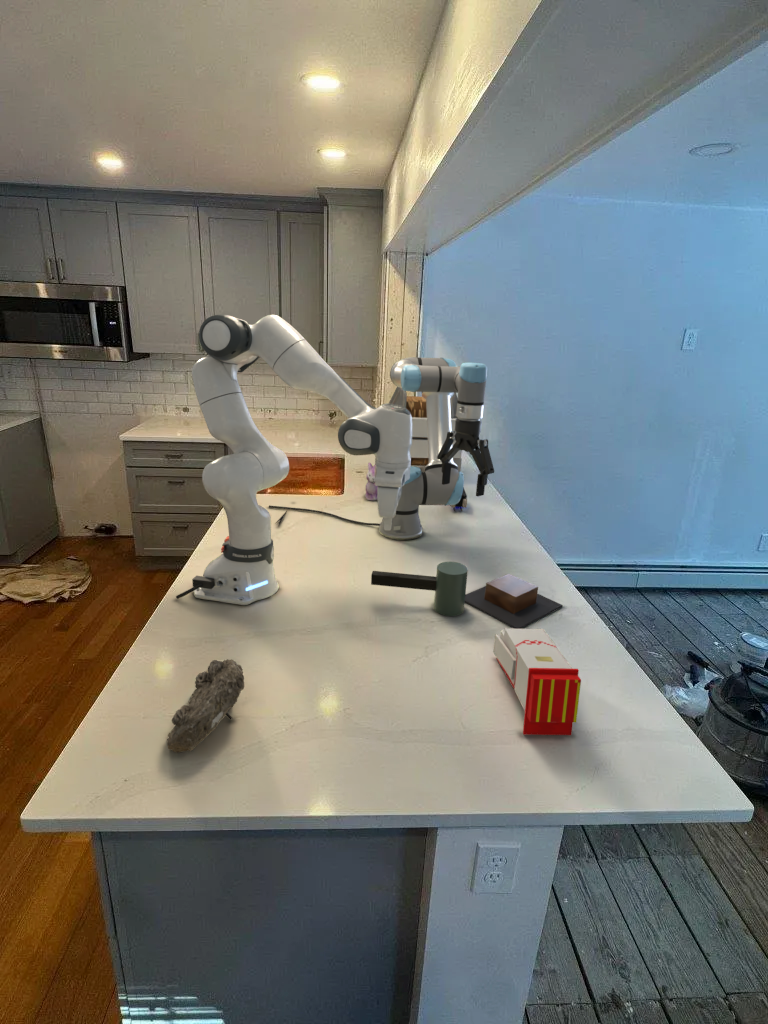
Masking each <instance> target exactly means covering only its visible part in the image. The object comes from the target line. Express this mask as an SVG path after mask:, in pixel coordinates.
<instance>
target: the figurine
mask: <svg viewBox="0 0 768 1024" xmlns="http://www.w3.org/2000/svg"><path fill="white" fill-rule="evenodd" d="M367 468H368V469H367V473H366V475H365V478H366V480H367V482H366V484H365V494H364V498H365V499H366V500H367V501H378V496H377V488H378V486H376V485H375V464H374V465H372V463H371V462H368V463H367Z"/></svg>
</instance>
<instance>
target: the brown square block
mask: <svg viewBox="0 0 768 1024" xmlns="http://www.w3.org/2000/svg"><path fill="white" fill-rule="evenodd" d="M485 586H486V589H485V597H484V599H485V600H487V601H489V602H491V603H493V604H495V605H497V606H499V607H501V608H503V609H505V610H507V611H509V612H511V613H513V614H515V613H517V612H519V611H521V610H523V609H525V608H527V607H529V606H531V605H533V604H535V603H536V600H537V594H539V593H538V592H539V586H538V585H536V584H534V583H531V582H529V581H526V580H524V579H522V578H520V577H518V576H515V575H513V574H511V573H507V574H505V575H502V576H499V577H497V578H495V579H492V580H490V581H488V582H485Z"/></svg>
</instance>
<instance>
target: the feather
mask: <svg viewBox="0 0 768 1024" xmlns="http://www.w3.org/2000/svg"><path fill="white" fill-rule="evenodd" d="M287 512H288V510H286V511H285V512H284V513H283V514H282V515H281V517H280V518H278V520H277V521H276V522H275V523H274V524H276V523H277V524H278V526H277V527H278V528H279V527H280V525H281V524H282V522H283V519H284V518H285V516H286V514H287Z"/></svg>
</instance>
